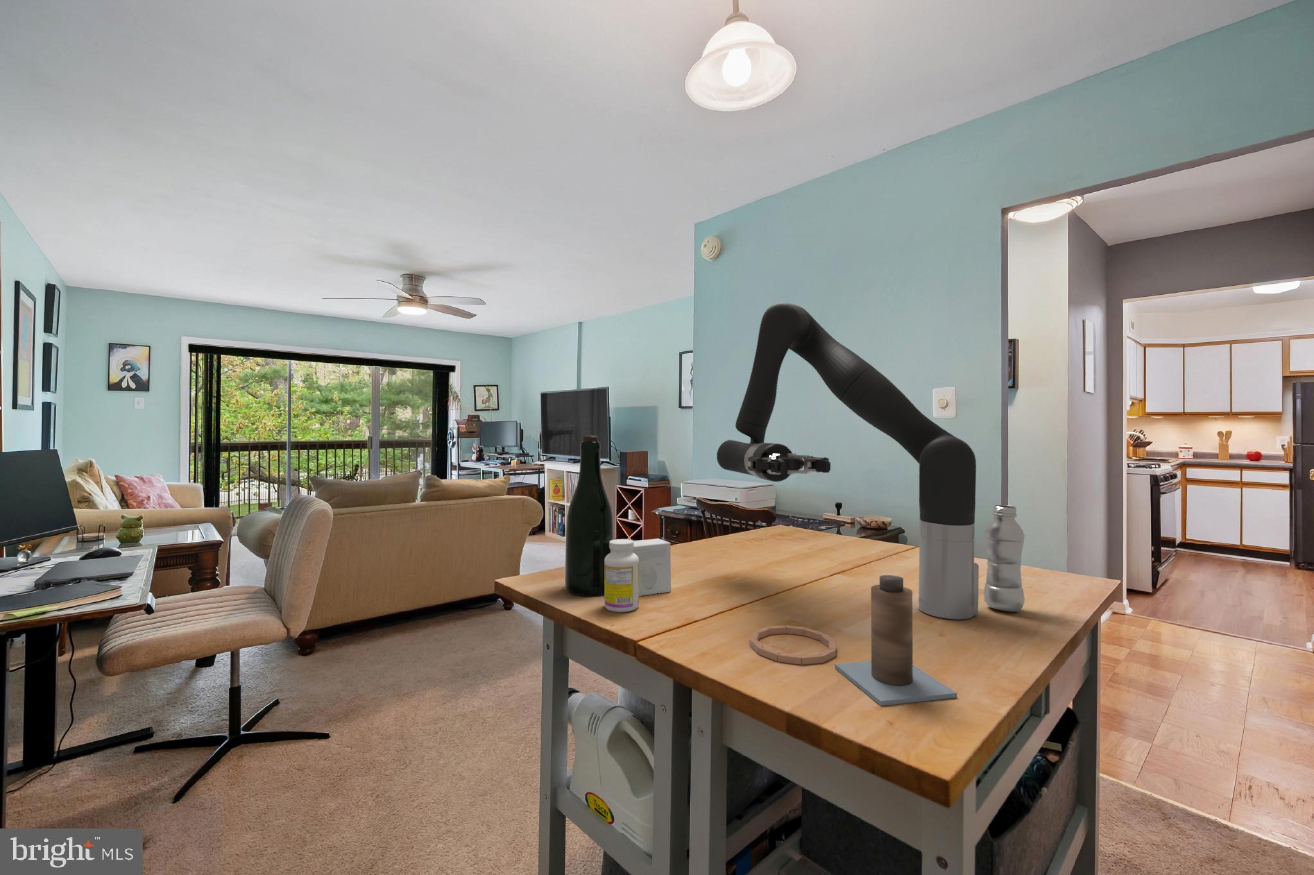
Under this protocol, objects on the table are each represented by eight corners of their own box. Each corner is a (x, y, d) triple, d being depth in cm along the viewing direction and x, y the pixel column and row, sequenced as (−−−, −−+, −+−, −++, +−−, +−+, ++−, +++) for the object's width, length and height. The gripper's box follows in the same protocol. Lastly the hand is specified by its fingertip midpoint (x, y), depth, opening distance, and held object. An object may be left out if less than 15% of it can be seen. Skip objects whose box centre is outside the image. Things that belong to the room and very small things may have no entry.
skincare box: (658, 584, 122) (658, 537, 122) (671, 592, 116) (672, 542, 116) (614, 590, 118) (614, 541, 118) (625, 598, 112) (626, 547, 112)
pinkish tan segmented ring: (810, 629, 95) (810, 623, 95) (852, 660, 82) (852, 653, 82) (739, 634, 92) (739, 628, 92) (771, 667, 80) (771, 660, 80)
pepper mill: (897, 667, 78) (896, 572, 78) (921, 683, 73) (920, 581, 73) (863, 670, 78) (863, 574, 78) (885, 687, 72) (885, 583, 72)
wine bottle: (593, 600, 111) (594, 435, 110) (554, 591, 116) (555, 435, 116) (624, 587, 119) (624, 435, 119) (586, 580, 125) (587, 434, 124)
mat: (902, 662, 82) (902, 658, 82) (957, 697, 71) (957, 692, 71) (834, 668, 80) (834, 664, 80) (880, 705, 69) (880, 700, 69)
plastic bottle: (1025, 617, 101) (1026, 509, 101) (982, 611, 105) (984, 506, 105) (1023, 608, 107) (1025, 505, 107) (983, 602, 111) (984, 503, 110)
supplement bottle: (619, 600, 111) (619, 536, 110) (645, 606, 107) (646, 540, 107) (596, 608, 105) (597, 541, 105) (623, 615, 101) (624, 546, 101)
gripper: (735, 443, 110) (767, 445, 95) (800, 443, 113) (842, 445, 97) (734, 480, 111) (767, 489, 95) (800, 479, 113) (842, 487, 98)
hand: (805, 466), depth 96 cm, fingers open, 8 cm apart
